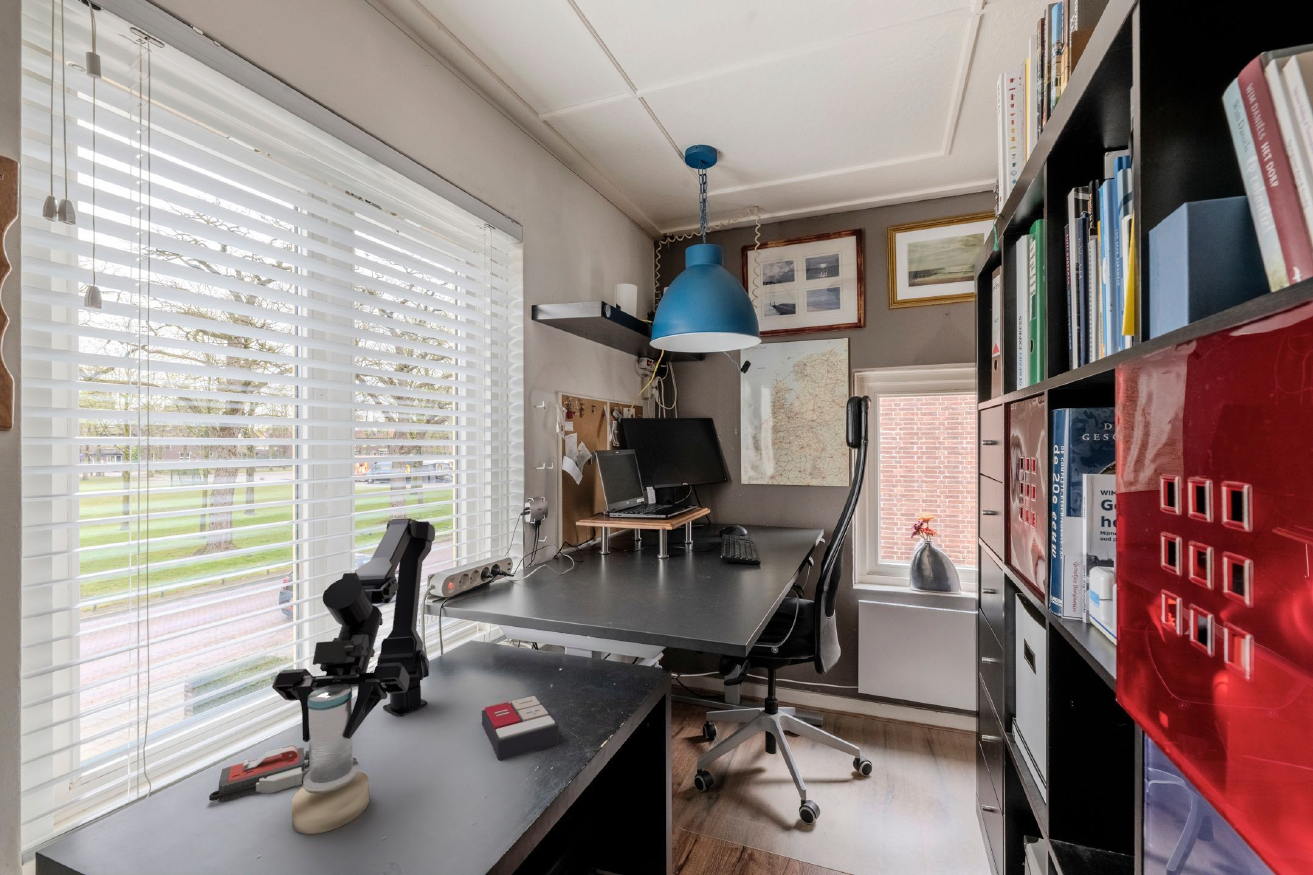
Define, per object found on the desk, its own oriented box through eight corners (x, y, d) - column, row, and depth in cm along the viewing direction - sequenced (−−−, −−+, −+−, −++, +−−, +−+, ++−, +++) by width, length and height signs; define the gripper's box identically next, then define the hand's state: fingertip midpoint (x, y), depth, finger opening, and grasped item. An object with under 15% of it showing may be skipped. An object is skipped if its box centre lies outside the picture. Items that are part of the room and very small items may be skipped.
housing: (303, 775, 84) (301, 689, 84) (356, 759, 88) (354, 677, 88) (303, 799, 78) (302, 707, 78) (361, 781, 82) (359, 694, 82)
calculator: (535, 692, 114) (558, 720, 101) (536, 714, 114) (559, 744, 101) (481, 705, 109) (497, 736, 96) (481, 728, 108) (498, 762, 95)
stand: (279, 817, 82) (279, 796, 82) (348, 782, 90) (348, 763, 90) (311, 843, 76) (311, 821, 76) (382, 803, 84) (381, 783, 84)
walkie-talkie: (206, 815, 83) (357, 770, 94) (206, 786, 83) (356, 744, 94) (214, 786, 91) (352, 747, 101) (214, 759, 91) (352, 723, 102)
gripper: (277, 619, 86) (233, 725, 75) (402, 612, 88) (376, 714, 77) (304, 650, 94) (268, 751, 83) (418, 643, 96) (397, 741, 85)
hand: (326, 739), depth 82 cm, fingers closed on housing, 6 cm apart
